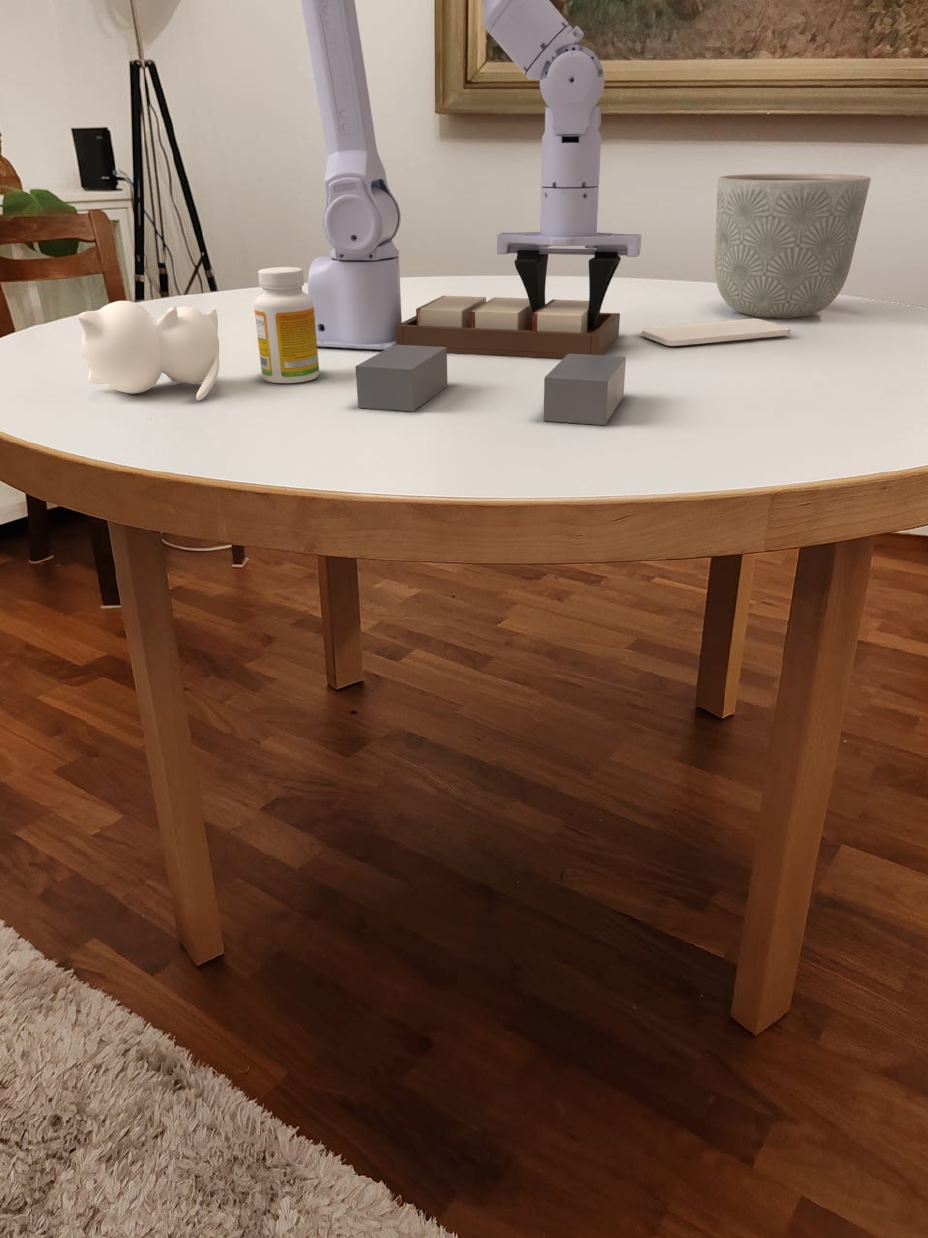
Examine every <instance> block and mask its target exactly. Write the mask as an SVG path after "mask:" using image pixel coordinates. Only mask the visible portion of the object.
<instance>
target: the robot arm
mask: <svg viewBox="0 0 928 1238" xmlns="http://www.w3.org/2000/svg"><path fill="white" fill-rule="evenodd" d="M481 1H482V6H483V15H482V16H483V17H482V19H483V20H482V22H483V28H484V29H485V30H486V32H487V33H488V34H489V35H490V37H492V38H493V39H494V41H495V42H496V43H497V44H498V45H499V47H500V48H501V49H502V50H503V51H504V52H505V54H506V55H507V56H508V57H509V58H510V59H511V61H512V62H513V63H514V65H515V66H517V67H518V69H519V70H520V71H521V73H522V74H523V75H525V77H526V78H527V79H528V80H530V81H531V80H537V81H539V89H540V94H541V96H542V99H543V101H544V103H545V104H546V106H545V109H544V133H543V135H542V137H541V177H540V178H541V181H540V228H539V230H540V231H528V232H527V231H525V232H521V231H520V232H500V233H498V234H497V235H496V254H497V255H508V254H516V258H515V260H514V262H513V263H514V267H515V269H516V272H517V273H518V275H519V278H520V280H521V282H522V284H523V286H524V290H525V292H526V295H527V299H529V302H530V306H531V310H532V315H533V313H534V312H535V311H537V310H538V309H540V308H541V307H542V306H544V305H545V304H546V284H547V272H548V271H547V270H548V263H549V262H548V261H549V255H571V256H572V255H575V256H579V255H580V256H594V257H591V258H590V259H588V285H589V286H588V287H589V289H588V291H589V293H588V296H589V298H588V301H589V307H588V330H595V329H596V328H597V324H598V318H599V314H600V313H601V310H602V305H603V302H604V299H605V297H606V293H607V291H608V288H609V286H610V284H611V282H612V279H613V277H614V274H615V273H616V271H617V269H618V268H619V264H620V262H621V260H622V258H621V257H622V256H624V257H625V256H626V258H627V257H629V258H637V257H639V256H640V255H641V248H642V234H639V233H638V234H637V233H636V234H635V233H617V232H615V233H614V232H598V214H599V213H598V212H599V210H598V209H599V191H600V175H601V174H600V171H601V170H600V169H601V167H600V166H601V150H602V149H601V148H602V134H601V133H600V130H599V128H600V127H601V124H602V123H601V122H602V113H601V110H600V106H599V105H597V104H598V102H599V101H600V100H601V97H602V95H603V93H604V89H605V85H606V79H605V75H604V74H605V73H604V70H603V66H602V63H601V61H600V59H599V58H598V56H597V55H596V54H595V52H594V51H592V50H591V49H590V48H588V47H586V46H583V45H579V42H580V41H581V40H582V38H583V37H584V35H585V33H584V31H582V30H581V28H580V27H579V26H578V25H575V26H574V28H573V27H572V26H571V25H570V23H569V22H568V20H566V18H565V17H564V16H563V15H562V14H561V13H560V11H559V10H558V9H557V8H556V7H555V5H554V4H553V3H552V2H551V1H550V0H481ZM300 2H301V3H300V4H301V9H302V14H303V20H304V27H305V32H306V37H307V43H308V51H309V55H310V62H311V67H312V73H313V79H314V83H315V84H314V85H315V90H316V96H317V102H318V107H319V108H318V109H319V113H320V114H319V115H320V119H321V125H322V131H323V137H324V142H325V148H326V154H327V163H326V167H325V171H324V172H325V173H324V174H325V175H324V180H323V183H324V189H325V204H324V208H323V211H322V218H321V225H322V230H323V234H324V237H325V239H326V240H327V242H328V243H329V245H330V246H331V247H332V249H329V256H318V257H316V258H315V259H313V261H312V262H311V264H310V266H309V270H308V275H307V294H308V295H310V296H311V298H312V300H313V305H314V316H315V328H316V339H317V347H323V348H324V347H325V348H339V349H341V348H342V349H358V350H359V349H360V350H363V349H364V350H378V351H380V350H381V351H384V350H386V349H388V348H390V347H391V346H393V345H396V325H398V324H400V323H402V322H403V320H402V319H403V318H402V317H403V315H402V296H401V272H400V256H399V255H400V250H399V249H398V248H397V247H396V246H395V244H394V241H393V240H394V238H395V237H396V235H397V234H398V232H399V229H400V227H401V221H402V218H401V217H402V215H401V209H400V206H399V203H398V201H397V200H396V197H395V196H394V194H393V193H392V192H391V190H390V187H389V185H388V180H387V173H386V170H385V169H386V168H385V167H384V164H383V161H382V159H381V157H380V154H379V152H378V148H377V141H376V134H375V127H374V121H373V114H372V108H371V101H370V94H369V88H368V81H367V74H366V67H365V61H364V54H363V48H362V41H361V35H360V27H359V20H358V13H357V8H356V1H355V0H300ZM552 246H553V247H584V248H550V247H552Z"/></svg>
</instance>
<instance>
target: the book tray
mask: <svg viewBox="0 0 928 1238" xmlns="http://www.w3.org/2000/svg"><path fill="white" fill-rule="evenodd" d="M620 323H621V313H620V312H613V313H612V312H600V314H599V318H598V324H597V330H596V331H595V332H594V333H575V332H553V331H531V330H508V329H486V328H464V327H442V326H420V325H417V321H416V315H414V316H412V317H410V318H408V319H406V320H405V321H402V323H400V324H398V325H396V345H413V346H433V347H447V354H449V353H451V354H464V355H465V354H467V355H485V356H486V355H487V356H503V357H504V356H505V357H522V358H523V357H524V358H540V359H541V358H542V359H543V358H544V359H561V360H563V359H564V358H565V357H566V356H567V355H568V354H587V355H604V354H605V353H606V352H607V351H608V349H609V348H610V347H611V346H612V345H613V344H614V342H616V340H617V339H618V338H619V337H620Z"/></svg>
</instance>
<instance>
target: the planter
mask: <svg viewBox="0 0 928 1238" xmlns="http://www.w3.org/2000/svg"><path fill="white" fill-rule="evenodd" d="M871 181H872V179H871V177H870V176H867V175H859V174H841V173H840V174H839V173H748V174H729V175H722V176H719V177H718V178H717V187H716V188H717V191H716V215H715V217H716V219H715V220H716V221H715V250H714V275H715V281H716V286H717V289H718V292H719V295H720V296H721V297H722V299H723V301H724V302H725V303H726V305H727V306H729V307H730V308H731V309H733V310H734V311H736V312H738V313H741V314H743V315H747V316H753V317H757V318H758V317H759V318H768V319H769V318H772V319H794V318H802V317H809V316H812V315H815V314H817V313H819V312H821V311H822V310H825V309H826V308H827V307H828V306H829V305H831V303H833V302H834V301H835V300H836V298H837V297H838V296H839V294H840V293H841V290H842V289H843V287H844V285H845V283H846V281H847V278H848V276H849V273H850V269H851V265H852V261H853V257H854V253H855V249H856V244H857V240H858V237H859V236H858V235H859V231H860V227H861V224H862V223H861V222H862V218H863V215H864V210H865V207H866V202H867V198H868V193H869V189H870V185H871Z"/></svg>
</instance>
